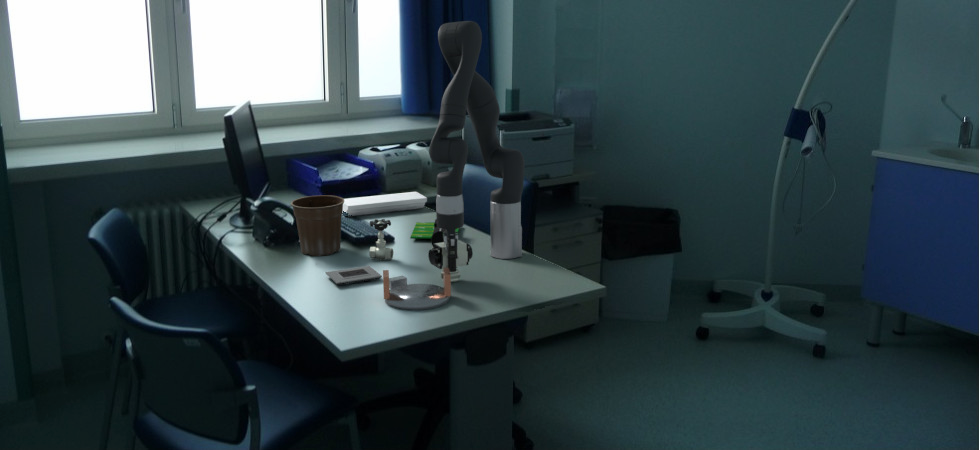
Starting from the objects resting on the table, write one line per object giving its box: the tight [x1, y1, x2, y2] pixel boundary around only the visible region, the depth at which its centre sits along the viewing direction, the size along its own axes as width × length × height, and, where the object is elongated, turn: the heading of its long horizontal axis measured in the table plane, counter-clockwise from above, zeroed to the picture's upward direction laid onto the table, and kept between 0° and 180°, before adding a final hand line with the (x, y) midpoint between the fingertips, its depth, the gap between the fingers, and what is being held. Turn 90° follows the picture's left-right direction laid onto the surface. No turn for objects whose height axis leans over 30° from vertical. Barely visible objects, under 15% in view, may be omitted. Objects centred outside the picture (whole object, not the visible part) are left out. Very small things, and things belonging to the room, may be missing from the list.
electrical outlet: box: [325, 265, 383, 286], centre depth 253 cm, size 13×10×2 cm
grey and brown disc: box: [382, 268, 452, 312], centre depth 236 cm, size 18×17×8 cm
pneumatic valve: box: [427, 239, 473, 283], centre depth 250 cm, size 6×12×12 cm, turn 119°
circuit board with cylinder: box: [409, 218, 460, 246], centre depth 293 cm, size 30×7×15 cm
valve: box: [368, 218, 394, 261], centre depth 270 cm, size 7×7×12 cm
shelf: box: [343, 191, 428, 217], centre depth 329 cm, size 12×30×5 cm, turn 115°
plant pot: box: [290, 194, 345, 257], centre depth 279 cm, size 16×16×16 cm
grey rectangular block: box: [389, 275, 408, 290], centre depth 247 cm, size 5×2×2 cm, turn 123°
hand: (451, 267), depth 251 cm, fingers open, 6 cm apart
